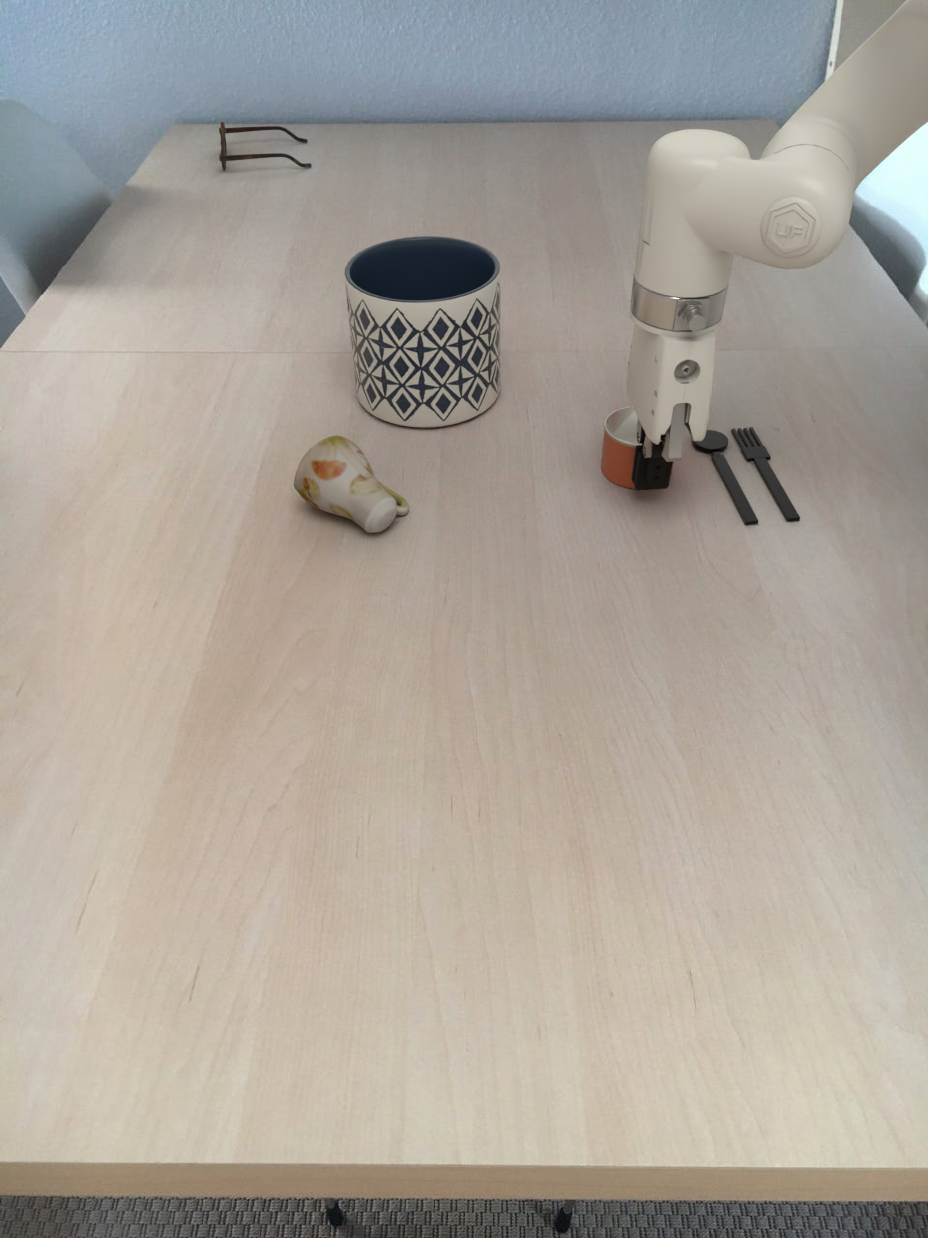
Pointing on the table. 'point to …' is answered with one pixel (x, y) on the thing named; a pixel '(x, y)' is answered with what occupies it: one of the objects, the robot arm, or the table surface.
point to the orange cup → (620, 446)
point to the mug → (347, 485)
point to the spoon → (726, 472)
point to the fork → (765, 470)
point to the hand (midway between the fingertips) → (649, 484)
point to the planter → (425, 329)
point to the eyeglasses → (224, 157)
